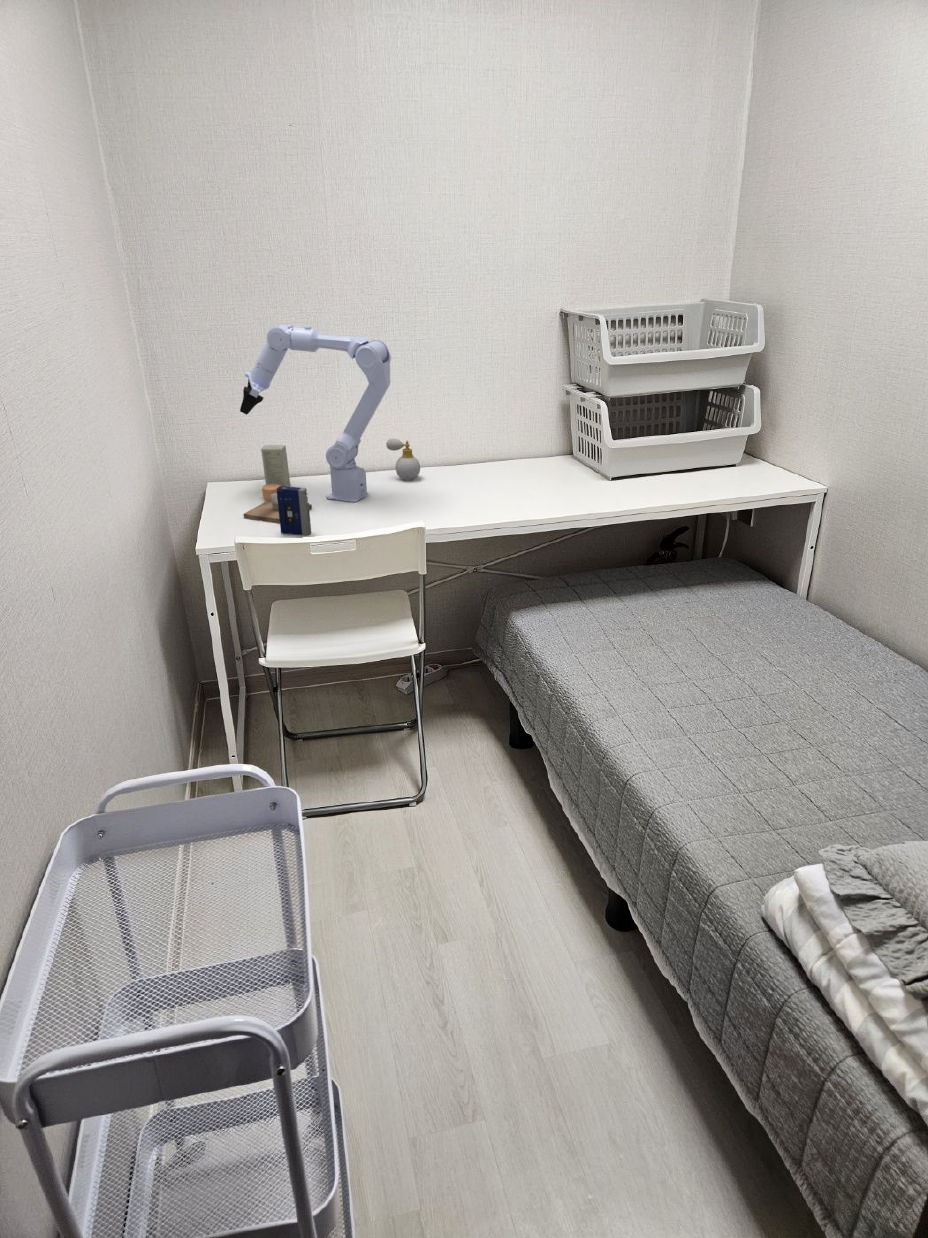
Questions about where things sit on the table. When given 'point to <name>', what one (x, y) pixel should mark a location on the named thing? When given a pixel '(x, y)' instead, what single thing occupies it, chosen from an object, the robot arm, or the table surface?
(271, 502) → the stud block
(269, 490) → the cap
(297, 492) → the cassette player
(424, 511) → the table surface
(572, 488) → the table surface
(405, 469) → the perfume bottle
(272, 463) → the skincare box
